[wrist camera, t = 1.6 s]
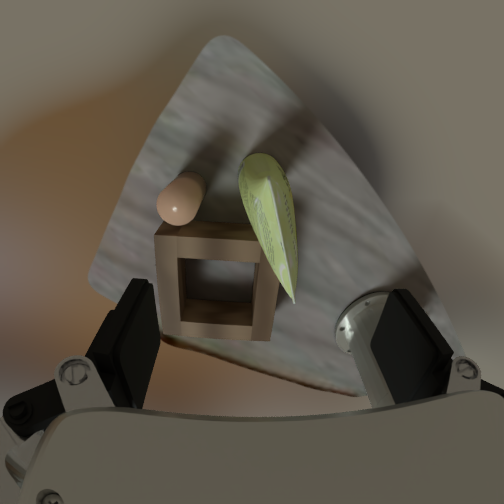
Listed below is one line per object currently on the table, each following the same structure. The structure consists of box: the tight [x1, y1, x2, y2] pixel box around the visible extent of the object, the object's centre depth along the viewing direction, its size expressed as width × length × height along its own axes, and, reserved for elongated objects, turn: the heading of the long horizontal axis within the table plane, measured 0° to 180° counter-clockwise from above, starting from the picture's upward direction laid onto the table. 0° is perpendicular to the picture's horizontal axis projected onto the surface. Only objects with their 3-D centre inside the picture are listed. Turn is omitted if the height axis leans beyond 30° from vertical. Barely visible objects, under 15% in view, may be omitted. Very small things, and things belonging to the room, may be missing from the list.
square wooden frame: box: [154, 220, 280, 341], centre depth 36 cm, size 14×14×5 cm
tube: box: [238, 153, 298, 304], centre depth 24 cm, size 6×5×20 cm
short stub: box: [157, 171, 206, 226], centre depth 30 cm, size 4×4×7 cm
